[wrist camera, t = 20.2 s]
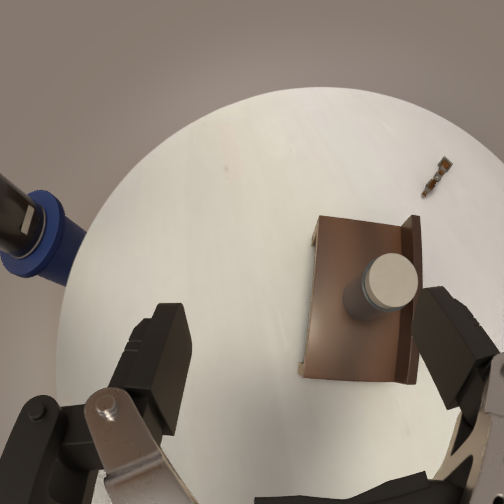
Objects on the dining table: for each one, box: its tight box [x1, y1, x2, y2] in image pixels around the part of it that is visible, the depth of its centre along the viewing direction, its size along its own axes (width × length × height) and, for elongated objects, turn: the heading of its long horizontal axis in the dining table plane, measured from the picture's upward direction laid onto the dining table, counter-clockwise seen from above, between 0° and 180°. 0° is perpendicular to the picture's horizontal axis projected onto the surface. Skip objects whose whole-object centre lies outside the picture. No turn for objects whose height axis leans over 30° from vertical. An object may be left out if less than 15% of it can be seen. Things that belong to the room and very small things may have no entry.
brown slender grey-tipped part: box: [422, 156, 453, 196], centre depth 37 cm, size 2×8×4 cm, turn 135°
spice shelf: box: [298, 215, 423, 385], centre depth 30 cm, size 10×16×9 cm, turn 172°
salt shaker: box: [342, 253, 418, 321], centre depth 24 cm, size 4×4×8 cm
